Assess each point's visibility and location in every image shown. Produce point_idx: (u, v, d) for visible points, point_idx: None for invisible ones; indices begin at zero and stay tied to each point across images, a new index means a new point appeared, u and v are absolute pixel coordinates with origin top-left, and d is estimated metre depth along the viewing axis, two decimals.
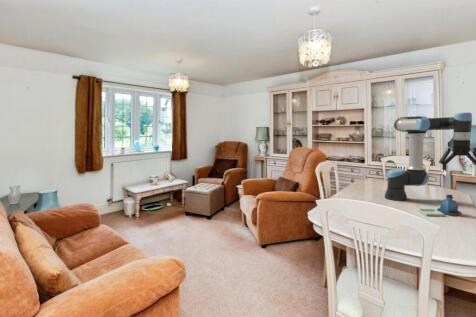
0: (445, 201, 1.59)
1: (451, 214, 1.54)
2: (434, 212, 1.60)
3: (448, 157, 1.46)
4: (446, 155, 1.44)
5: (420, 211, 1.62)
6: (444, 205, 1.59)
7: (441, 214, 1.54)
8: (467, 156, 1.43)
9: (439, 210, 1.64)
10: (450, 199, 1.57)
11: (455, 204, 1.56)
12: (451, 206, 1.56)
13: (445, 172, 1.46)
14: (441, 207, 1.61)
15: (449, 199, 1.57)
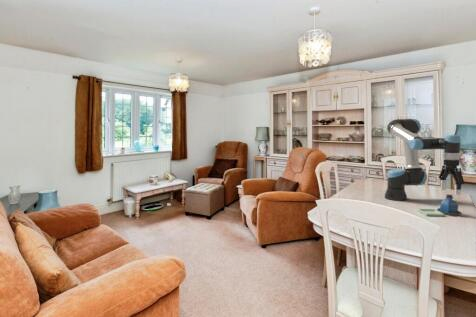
0: (445, 201, 1.59)
1: (451, 214, 1.54)
2: (434, 212, 1.60)
3: None
4: (441, 171, 1.64)
5: (420, 211, 1.62)
6: (444, 205, 1.59)
7: (441, 214, 1.54)
8: None
9: (439, 210, 1.64)
10: (450, 199, 1.57)
11: (455, 204, 1.56)
12: (451, 206, 1.56)
13: None
14: (441, 207, 1.61)
15: (449, 199, 1.57)
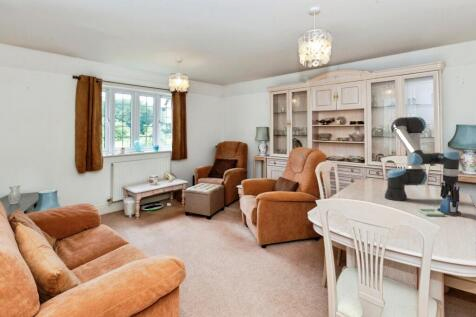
0: (445, 201, 1.59)
1: (451, 214, 1.54)
2: (434, 212, 1.60)
3: None
4: (441, 188, 1.64)
5: (420, 211, 1.62)
6: (444, 205, 1.59)
7: (441, 214, 1.54)
8: None
9: (439, 210, 1.64)
10: (450, 199, 1.57)
11: None
12: None
13: None
14: (441, 207, 1.61)
15: (449, 199, 1.57)
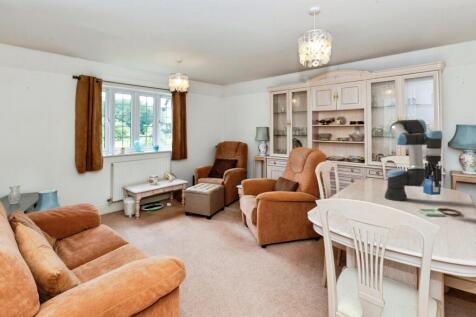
0: (428, 181, 1.57)
1: (451, 214, 1.54)
2: (434, 212, 1.60)
3: None
4: (425, 169, 1.63)
5: (420, 211, 1.62)
6: (427, 185, 1.57)
7: (441, 214, 1.54)
8: None
9: (439, 210, 1.64)
10: (433, 179, 1.56)
11: None
12: None
13: None
14: (424, 188, 1.60)
15: (432, 179, 1.56)
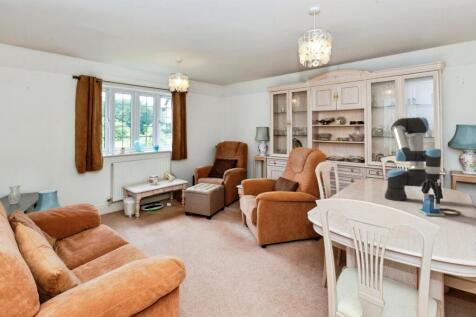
0: (427, 201, 1.59)
1: (451, 214, 1.54)
2: None
3: None
4: (423, 184, 1.65)
5: (420, 211, 1.62)
6: (426, 205, 1.59)
7: (441, 214, 1.54)
8: None
9: (439, 210, 1.64)
10: (432, 199, 1.57)
11: None
12: (433, 206, 1.56)
13: None
14: (423, 207, 1.61)
15: (431, 199, 1.58)
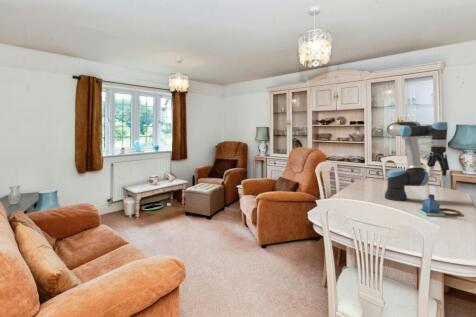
0: (427, 201, 1.59)
1: (451, 214, 1.54)
2: None
3: None
4: (429, 158, 1.66)
5: (420, 211, 1.62)
6: (426, 205, 1.59)
7: (441, 214, 1.54)
8: None
9: (439, 210, 1.64)
10: (432, 199, 1.57)
11: (437, 204, 1.56)
12: (433, 206, 1.56)
13: None
14: (423, 207, 1.61)
15: (431, 199, 1.58)
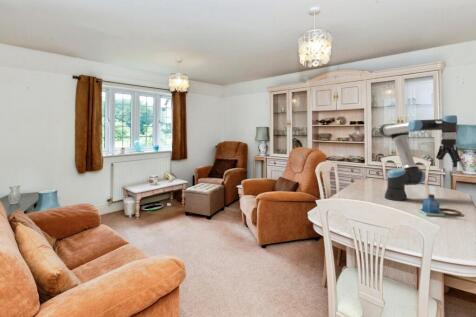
0: (427, 201, 1.59)
1: (451, 214, 1.54)
2: None
3: None
4: (438, 151, 1.71)
5: (420, 211, 1.62)
6: (426, 205, 1.59)
7: (441, 214, 1.54)
8: None
9: (439, 210, 1.64)
10: (432, 199, 1.57)
11: (437, 204, 1.56)
12: (433, 206, 1.56)
13: None
14: (423, 207, 1.61)
15: (431, 199, 1.58)
